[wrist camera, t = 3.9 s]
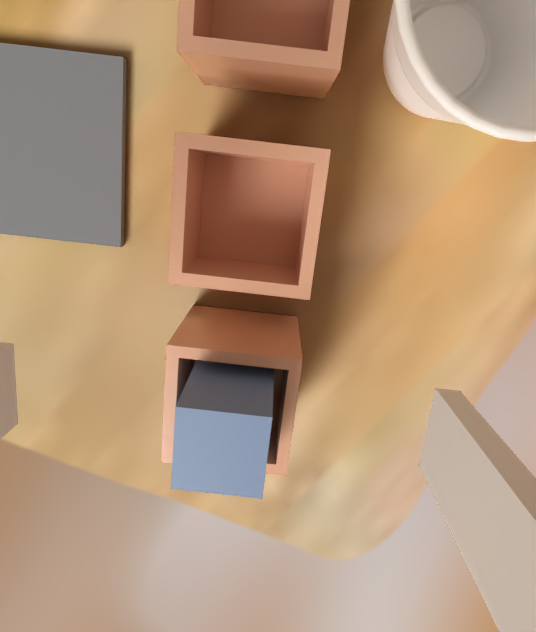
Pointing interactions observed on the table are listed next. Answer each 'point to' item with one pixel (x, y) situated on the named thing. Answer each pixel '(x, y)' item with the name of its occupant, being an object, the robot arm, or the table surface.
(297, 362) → the pot
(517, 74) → the cup
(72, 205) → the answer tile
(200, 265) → the pot
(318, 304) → the table surface
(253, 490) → the blue rectangular block
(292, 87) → the pot
